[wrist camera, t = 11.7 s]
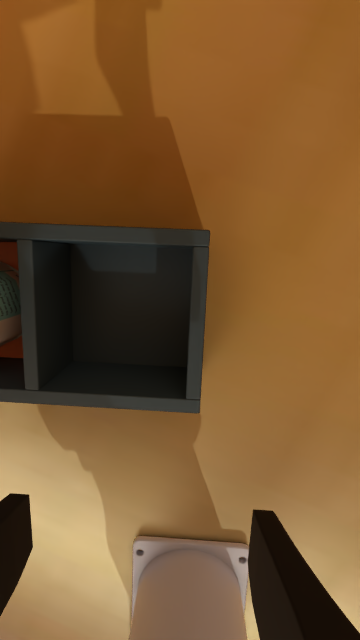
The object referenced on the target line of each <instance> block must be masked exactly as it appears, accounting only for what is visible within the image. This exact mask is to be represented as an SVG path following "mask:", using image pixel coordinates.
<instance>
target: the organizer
mask: <svg viewBox="0 0 360 640" xmlns="http://www.w3.org/2000/svg"><path fill="white" fill-rule="evenodd" d="M209 242H210V231H209V230H194V229H169V228H143V227H118V226H92V225H67V224H42V223H16V222H0V262H3V263H5V264H8V265H9V266H11V267H13V268H14V269H16V270H17V271H18V272H19V289H20V308H21V326H22V336H20V337H19V338H17V339H15V340H13V341H11V342H8V343H6V344H4V345H2V346H0V402H15V403H32V404H49V405H66V406H83V407H100V408H117V409H134V410H151V411H168V412H184V413H200V398H201V381H202V364H203V347H204V329H205V312H206V294H207V277H208V260H209V247H208V246H209Z"/></svg>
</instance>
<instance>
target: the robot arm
mask: <svg viewBox="0 0 360 640" xmlns="http://www.w3.org/2000/svg"><path fill="white" fill-rule="evenodd" d="M32 548H33V543H32V529H31V515H30V501H29V495H26V494H9V495H8V496H7V497H5V498H4V499H3V500H1V501H0V616H1V614H2V612H3V610H4V608H5V607H6V605H7V603H8V601H9V599H10V597H11V595H12V593H13V592H14V590H15V588H16V586H17V584H18V581H19V579H20V577H21V574H22V572H23V570H24V568H25V565H26V563H27V560H28V558H29V555H30V553H31V550H32ZM139 549H141V550H142V551H140V550H139ZM240 557H244V558H240ZM248 572H249V579H250V588H251V596H252V603H253V608H254V613H255V618H256V623H257V627H258V632H259V637H260V640H360V633H359V632H358V631H357V629H356V628H355V627H354V626H353V625H352V623H351V622H350V621H349V620H348V618H347V617H346V616H345V614H344V613H343V612H342V611H341V609H340V608H339V607H338V605H337V604H336V603H335V601H334V600H333V599H332V598H331V596H330V595H329V593H328V592H327V591H326V589H325V588H324V587H323V585H322V584H321V583H320V581H319V580H318V578H317V577H316V575H315V574H314V573H313V571H312V570H311V568H310V567H309V565H308V564H307V563H306V561H305V560H304V558H303V557H302V555H301V554H300V552H299V551H298V549H297V548H296V546H295V545H294V543H293V542H292V540H291V538H290V537H289V535H288V534H287V532H286V531H285V529H284V527H283V526H282V524H281V522H280V521H279V519H278V517H277V516H276V514H275V513H274V512H273V511H266V510H253V516H252V525H251V535H250V544H249V546H248V545H246V544H244V543H232V542H218V541H204V540H191V539H177V538H163V537H149V536H138V537H136V538H135V539H134V543H133V573H132V624H131V630H130V636H129V640H247V633H246V626H245V619H244V612H245V602H246V592H247V582H248Z"/></svg>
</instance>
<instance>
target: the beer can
mask: <svg viewBox="0 0 360 640" xmlns="http://www.w3.org/2000/svg"><path fill="white" fill-rule="evenodd" d="M20 336H22V326H21V308H20V289H19V272H18V271H17V270H16V269H14V268H13V267H11V266H9V265H8V264H5V263H3V262H0V346H2V345H4V344H6V343H8V342H11V341H13V340H15V339H17V338H19V337H20Z"/></svg>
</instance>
